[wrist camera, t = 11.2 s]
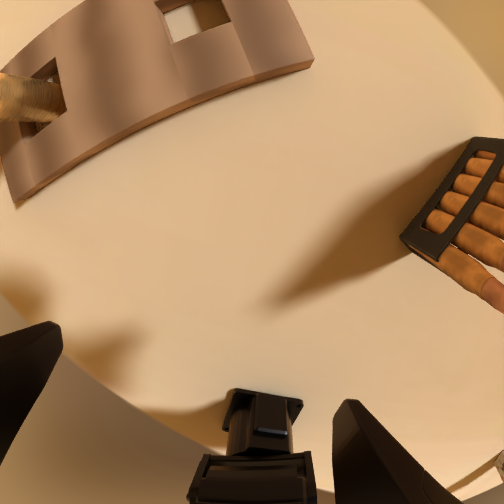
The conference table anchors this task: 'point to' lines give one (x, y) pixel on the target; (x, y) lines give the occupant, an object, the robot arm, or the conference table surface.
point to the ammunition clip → (466, 221)
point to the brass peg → (29, 99)
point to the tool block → (137, 75)
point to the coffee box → (500, 464)
